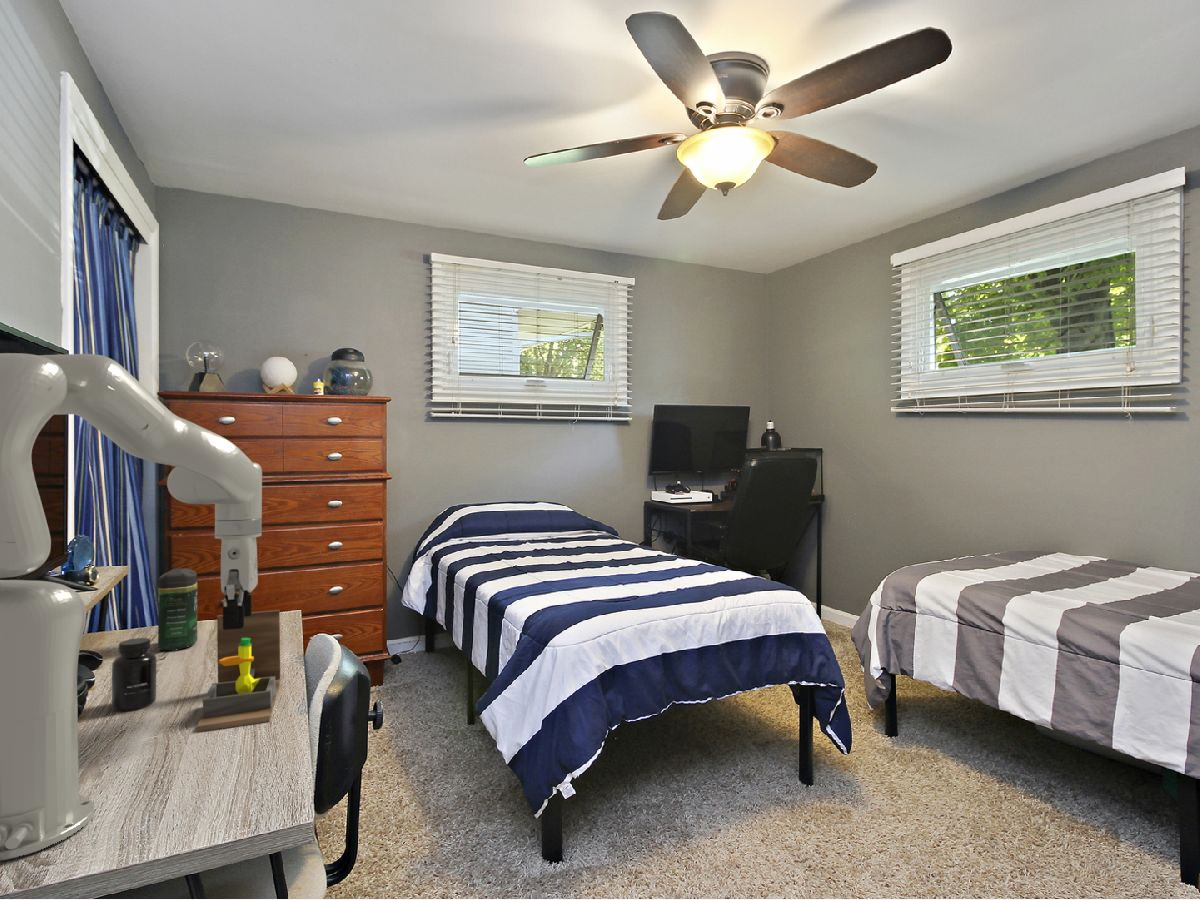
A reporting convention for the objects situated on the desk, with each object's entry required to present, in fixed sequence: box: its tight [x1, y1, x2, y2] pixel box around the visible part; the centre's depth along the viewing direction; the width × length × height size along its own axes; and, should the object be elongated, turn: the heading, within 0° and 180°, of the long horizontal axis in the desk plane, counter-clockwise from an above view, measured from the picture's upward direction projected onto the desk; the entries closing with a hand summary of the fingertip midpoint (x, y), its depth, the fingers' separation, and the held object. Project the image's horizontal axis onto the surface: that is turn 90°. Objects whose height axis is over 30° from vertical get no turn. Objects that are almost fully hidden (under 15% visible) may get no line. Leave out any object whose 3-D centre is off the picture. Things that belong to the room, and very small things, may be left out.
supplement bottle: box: [111, 637, 157, 712], centre depth 121 cm, size 7×7×12 cm
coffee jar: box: [157, 567, 198, 651], centre depth 157 cm, size 10×8×19 cm
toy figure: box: [219, 638, 261, 694], centre depth 119 cm, size 7×4×12 cm, turn 112°
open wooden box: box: [196, 609, 281, 733], centre depth 121 cm, size 20×11×15 cm, turn 21°
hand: (237, 622), depth 118 cm, fingers open, 9 cm apart
